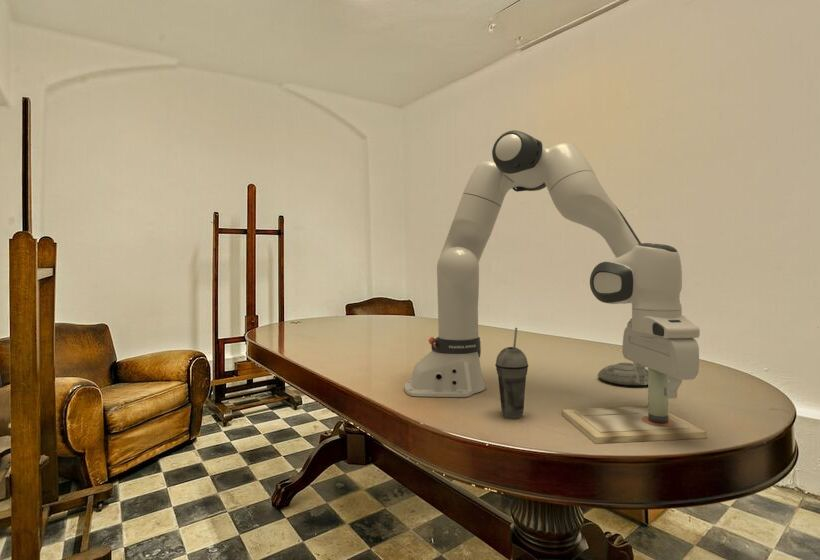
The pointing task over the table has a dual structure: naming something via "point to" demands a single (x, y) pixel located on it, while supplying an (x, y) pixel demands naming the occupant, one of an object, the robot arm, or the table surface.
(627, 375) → the flying saucer
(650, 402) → the cylinder
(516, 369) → the beverage cup
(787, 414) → the table surface
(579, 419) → the sketch board
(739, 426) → the table surface
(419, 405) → the table surface
